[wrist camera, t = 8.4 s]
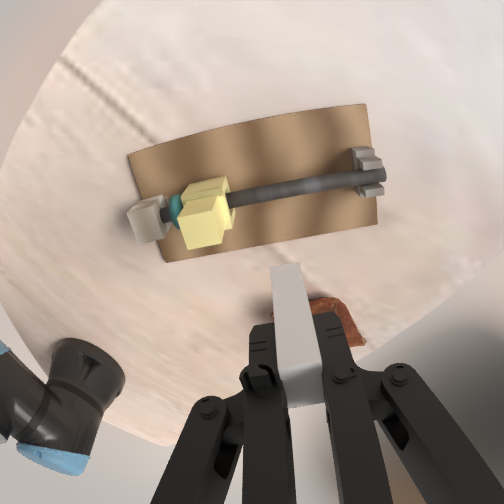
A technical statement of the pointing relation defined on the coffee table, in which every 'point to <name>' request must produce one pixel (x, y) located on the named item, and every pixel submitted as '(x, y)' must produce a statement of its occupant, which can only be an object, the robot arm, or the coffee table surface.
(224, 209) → the yellow sliding block
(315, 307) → the fossil
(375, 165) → the brown flat board
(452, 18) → the coffee table surface
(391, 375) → the robot arm
